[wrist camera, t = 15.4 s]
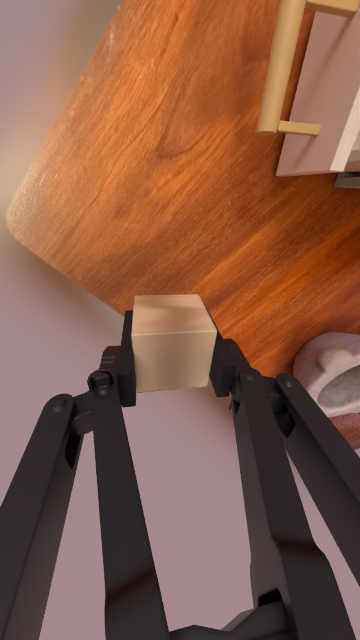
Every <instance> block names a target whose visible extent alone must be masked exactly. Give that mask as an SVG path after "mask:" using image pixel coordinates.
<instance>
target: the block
mask: <svg viewBox="0 0 360 640" xmlns="http://www.w3.org/2000/svg"><path fill="white" fill-rule="evenodd" d="M216 335H217V329H216V327H215V325H214V323H213V322H212V320H211V318H210V316H209V314H208V312H207V310H206V308H205V306H204V304H203V302H202V301H201V299H200V297H199V295H198V294H192V295H149V296H134V307H133V320H132V333H131V337H132V347H133V352H134V363H135V373H136V387H137V393H143V392H153V391H164V390H174V389H184V388H195V387H206V386H207V385H208V379H209V373H210V368H211V362H212V357H213V351H214V345H215V340H216Z"/></svg>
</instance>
